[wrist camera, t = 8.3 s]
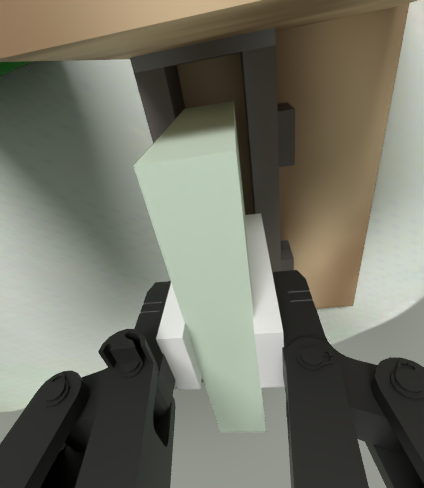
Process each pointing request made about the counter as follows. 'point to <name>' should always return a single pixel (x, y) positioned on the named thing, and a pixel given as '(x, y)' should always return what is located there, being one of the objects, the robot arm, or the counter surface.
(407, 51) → the counter surface
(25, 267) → the counter surface
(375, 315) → the counter surface
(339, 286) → the wooden stand with tray
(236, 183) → the pale green rectangular block
